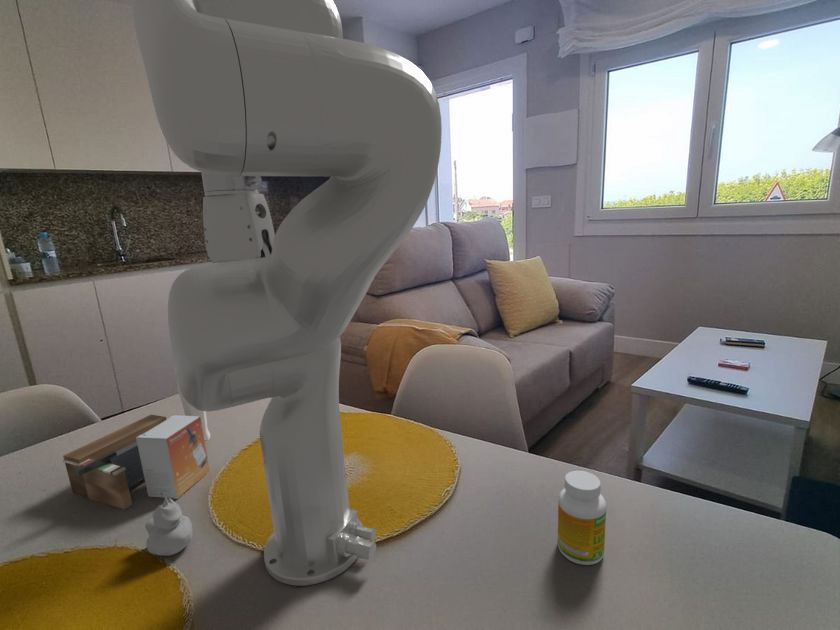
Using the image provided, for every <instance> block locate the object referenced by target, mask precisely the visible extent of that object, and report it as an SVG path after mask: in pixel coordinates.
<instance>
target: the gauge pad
mask: <svg viewBox="0 0 840 630" xmlns="http://www.w3.org/2000/svg"><path fill="white" fill-rule="evenodd" d="M104 463H110V464H114V465H117V466H123V467H125V468H126V469H125V475H126V479H127V483H128V488H130V487H131V486H133V485H135V484H137V483H138V482H140V481H142V480H143V479H145V478H144V473H143V469H142V464H141V459H140V455H139V450H138V445H137V441H136V442H134V443H132V444H130V445H128V446H126V447H124V448H122V449H120V450H119V451H117V452H114V451H113V452H111V453H109V454H107V455H105V456H103V457H101V458H99V459H97V460H95V461H93V462H91V463H89V464H87V465H85V466H83V467H81V468H79V469H77V470H75V474H76V476H81V475H83V474H85V473H87V472H88V471H90V470H92V469H94V468H96V467H98V466H100V465H102V464H104Z"/></svg>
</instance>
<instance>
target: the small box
mask: <svg viewBox="0 0 840 630" xmlns="http://www.w3.org/2000/svg"><path fill="white" fill-rule="evenodd" d="M166 419H167V420H165V421H164V422H162V423H160V424H159V425H157V426H155V427H154V428H152V429H150V430H149V431H147V432H145V433H144V434H142V435H140V436H138V437H136V440H137V445H138V450H139V455H140V459H141V464H142V469H143V473H144V478H143V479H144V482H145V487H146V491H147V495H148V497H151V498H161V499H162V498H163V499H165V497H167V499H169V498H170V499H172V500H174V499H175V500H178V499H179V498H181V496H182V495H184V494H185V493H186V492H187V491H188V490H190V489H191V488H192V487H193V486H194V485H196V484H197V483H198V482H199V481H200V480H202V479H203V478H204V477H205V476H207V475H208V474H209V473H210V471H211V470H210V464H209V459H208V452H207V447H206V442H205V440H204V434H203V429H202V423H201V417H199V416H185V415H176V414H174V415H173V414H172V415H171V416H170V417H169V418H166Z"/></svg>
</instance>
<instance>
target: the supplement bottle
mask: <svg viewBox="0 0 840 630" xmlns="http://www.w3.org/2000/svg"><path fill="white" fill-rule="evenodd" d="M601 483H602V482H601V480H600V479H599V477H597V476H596V475H595V474H593V473H591V472H589V471H586V470H572V471H569V472H567V473H566V474H565V476H564V484H563V485H564V488H563V489H562V490H561V491H560V492H559V495H558V507H557V510H558V511H557V513H558V514H557V547H558V550H559V552H560V553H561V554H562V555H563V556H564V558H566V559H567V560H568V561H570V562H573V563H575V564H577V565H583V566H590V565H595V564H598V563H599V562H600V561H602V559H603V558H604V556H605V555H604V554H605V540H606V538H605V537H606V523H607V521H606V520H607V502H606V499H605V497H604V496H603V494H601V489H602V488H601Z"/></svg>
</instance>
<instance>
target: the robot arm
mask: <svg viewBox="0 0 840 630" xmlns="http://www.w3.org/2000/svg"><path fill="white" fill-rule="evenodd" d="M131 6H132V16H133V23H134V29H135V34H136V38H137V43H138V46H139V51H140V53H141V57H142V62H143V65H144V70H145V73H146V76H147V82H148V87H149V90H150V94H151V99H152V103H153V107H154V110H155V115H156V120H157V122H158V124H159V127H160V130H161V131H162V135H163V137H164V139H165V140H166V143H167V145H168V146H169V148H170V150H171V151H172V152H173V153H174V155H175V156H176V157H177V159H179V160H180V161H181V162H182V163H184V164H185V165H186V166H188V167H190V168H191V169H194V170H196V171H197V172H200V173H201V180H202V184H203V185H202V187H203V192H204V196H203V197H202V199H203V200H202V221H203V223H202V224H203V232H204V233H203V234H204V241H205V242H204V243H205V248H206V252H207V256H208V258H209V260H211V261H212V263H204V264H199V265H195V266H193V267H190V268H188V269H186V270H184V271H183V272H181V273H180V274H179V275H178V276H177V277H176V278H175V280H174V281H173V282H172V284H171V286H170V290H169V294H168V300H167V318H168V320H167V321H168V330H169V339H170V345H171V352H172V353H171V354H172V361H173V369H174V373H175V379H176V382H177V383H178V386H179V388H180V391H181V393H182V395H183V397H184V398H185V399H186V401H187V402H188V403H189V404H190V405H191V406H192V407H194V408H195V409H197V410H200V411H206V412H215V411H221V410H224V409H225V410H226V409H230V408H234V407H237V406H242V405H246V404H249V403H254V402H256V401H257V402H258V401H261V400H265V399H270V398H271V399H270V401H269V403H268V405H267V407H266V409H265V410H264V413H263V416H262V418H261V423H260V427H259V440H260V441H259V442H260V447H261V448H260V449H261V453H262V460H263V467H264V472H265V479H266V480H265V482H266V488H267V494H268V495H267V496H268V501H269V507H270V513H271V521H272V528H273V532H272V533H271V535H270V536H269V537H268V539H267V540H266V543H265V546H264V548H263V549H264V550H263V558H264V559H263V560H264V564H265V565H264V566H265V568H266V571H267V572H268V574H269V575H270V576H271V577H272V578H273V579H275V580H276V581H278V582H280V583H282V584H285V585H286V584H287V585H291V586H311V585H316V584H319V583H320V584H321V583H323V582H326V581H328V580H329V581H330V580H331V579H333V578H335V577H337V576H338V575H340V574H342V573H344V571H346V570H347V569H348V568H349V567H351V566H352V565H353V564H354V562H355V561H357V560H358V558H359V559H362V560H366V561H373V559H374V558H375V556H376V552H377V543H376V542H374V541H375V538H376V537H377V536H376V535H377V530H376V529H375V528H373V527H372V528H371V527H367V526H363V523H362V522H361V520H360V519H359V518H358V510H357V509H351V508H350V501H349V493H348V482H347V474H346V472H347V471H346V462H345V453H344V443H343V434H342V433H343V431H342V424H341V414H340V413H341V412H340V394H339V393H340V392H339V391H340V387H339V386H340V385H339V384H340V381H339V380H340V371H341V370H340V368H341V358H342V357H341V356H342V342H341V341H342V340H341V335H342V334H343V333H344V331H345V330H346V329H347V327H348V325H349V324H350V323H351V320H352V319H353V317H354V315H355V313H356V312H357V310H358V308H359V306H360V305H361V303H362V301H363V299H364V298H365V296H366V294H367V292H368V291H369V289H370V287H371V285H372V283H373V281H374V279H375V277H376V276H377V274H378V273H379V272H380V270H381V269H382V268H383V266H384V265H385V263H386V262H387V261H388V260H389V259H390V257H391V256H392V255H393V254H394V253H395V251H396V250H397V249H398V248H399V246H400V245H401V244H402V243H403V242H404V240H405V239H406V237H407V236H408V235H409V233H410V232H411V231H412V229H413V228H414V226H415V225H416V223H417V221H418V220H419V218H420V216H421V215H422V213H423V211H424V209H425V207H426V205H427V203H428V201H429V199H430V196H431V192H432V191H433V190H432V189H433V186H434V184H435V180H436V176H437V173H438V168H439V163H440V158H441V157H440V156H441V151H442V150H441V147H442V136H443V135H442V131H443V130H442V129H443V128H442V115H441V107H440V103H439V100H438V96H437V93H436V91H435V89H434V85H432V82H431V80H430V79H429V77H427V75H426V74H425V72H423V70H422V69H421V68H419V67H418V66H417V65H416V64H414V63H413V62H412V61H411V60H409V59H408V58H405V57H404V56H401V55H400V54H397V53H396V52H393V51H391V50H387V49H385V48H382V47H379V46H377V45H373V44H369V43H366V42H361V41H357V40H351V39H345V38H344V37H343V36H344V35H343V34H344V33H343V26H342V19H341V16H340V13H339V10H338V8H337V6H336V3H335V1H334V0H131ZM262 177H329V179H328V180H326V181H325V182H324V183H322V184H321V185H319V186H318V187H317V188H315V190H313V191H312V192H310V193H309V194H308V195H306V196H305V197H304V198H302V199H301V200H300V201H299V202H298V203H297V204H296V205H295V206H294V207H293V208H292V209H291V210H290V212H288V214H287V215H286V216H285V217H284V219H283V220H282V221H281V223H280V224H279V226H278V228H277V230H276V232H275V230H274V229H275V228H274V224H273V220H272V216H271V213H270V212H271V211H270V208H269V206H268V202H267V200H266V197H265V195H264V193H260V191H259V185H261V184H263V183H262V182H263V179H262ZM177 383H176V384H177Z"/></svg>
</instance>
